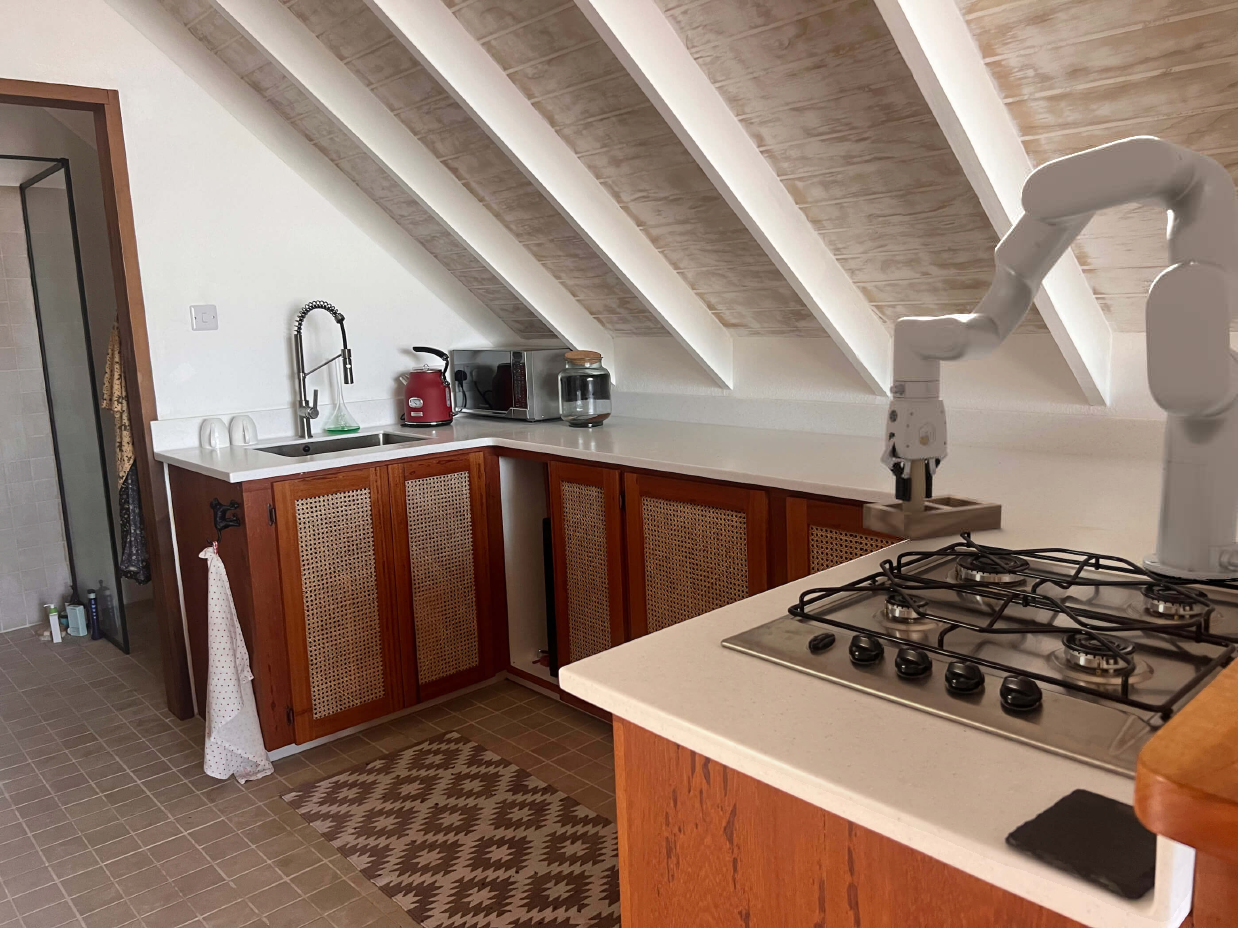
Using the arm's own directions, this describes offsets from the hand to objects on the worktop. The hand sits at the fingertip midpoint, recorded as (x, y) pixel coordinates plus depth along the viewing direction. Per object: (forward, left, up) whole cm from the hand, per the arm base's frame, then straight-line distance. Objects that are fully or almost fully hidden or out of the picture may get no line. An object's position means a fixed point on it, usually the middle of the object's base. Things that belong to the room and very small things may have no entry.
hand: (913, 497), depth 163 cm
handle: (0, 0, -4) cm, 4 cm away
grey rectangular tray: (0, -4, -6) cm, 7 cm away
